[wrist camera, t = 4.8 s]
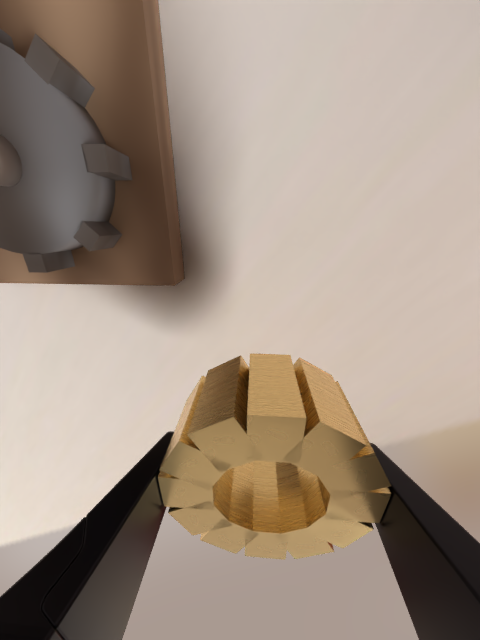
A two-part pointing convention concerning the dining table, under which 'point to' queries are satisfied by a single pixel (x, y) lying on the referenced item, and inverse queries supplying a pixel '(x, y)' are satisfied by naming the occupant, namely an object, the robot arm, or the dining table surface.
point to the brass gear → (272, 461)
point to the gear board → (86, 145)
